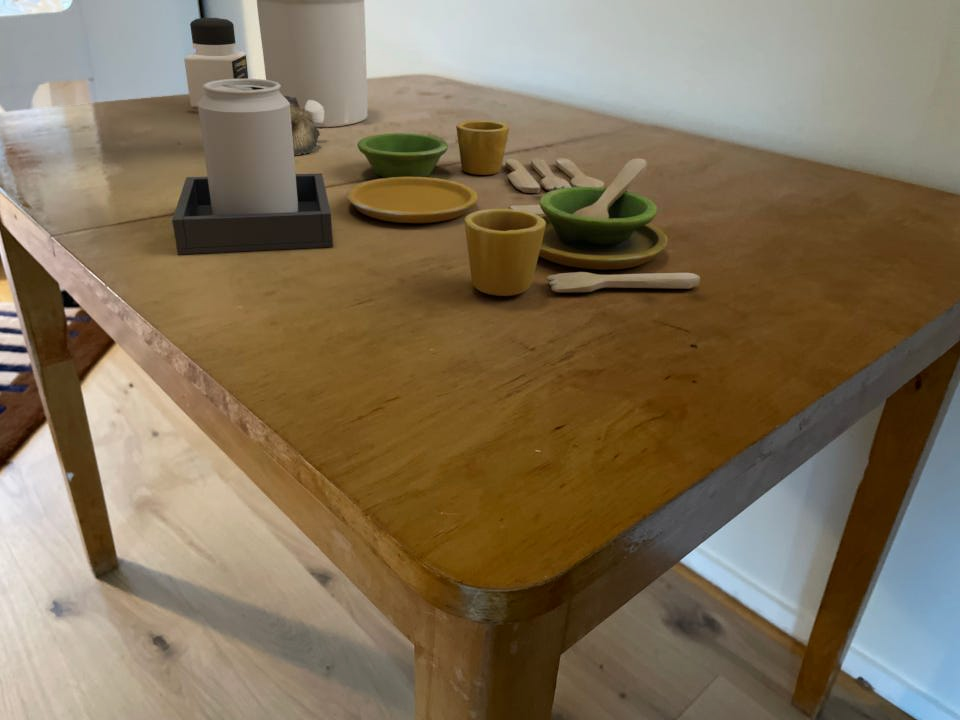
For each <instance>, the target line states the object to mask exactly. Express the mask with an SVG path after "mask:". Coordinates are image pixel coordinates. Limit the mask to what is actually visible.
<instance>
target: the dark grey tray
mask: <svg viewBox="0 0 960 720" xmlns="http://www.w3.org/2000/svg"><path fill="white" fill-rule="evenodd" d="M295 174H296V187H297V199H298V212H287V213H261V214H235V215H213V214H212V206H211V199H210V192H209V184H208V177H207V176H187V177H186V178H185V180H184V183H183V186H182V188H181V191H180V196H179V198H178V201H177V204H176V207H175V210H174V213H173V217H172V220H171V222H172V228H173V233H174V234H173V235H174V240H175V247H176V252H177V255H178V256H179V255H197V254H198V255H200V254H219V253H239V252H258V251H259V252H261V251H279V250H280V251H281V250H297V249H298V250H300V249H301V250H302V249H321V248H333V247H334V245H333V244H334V241H333V240H334V239H333V226H332V225H333V224H332V211H331V208H330V204H329V198H328V194H327V189H326V184H325V181H324V180H325V179H324V176H323V173H319V172H318V173H295Z"/></svg>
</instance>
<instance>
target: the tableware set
mask: <svg viewBox="0 0 960 720" xmlns="http://www.w3.org/2000/svg"><path fill="white" fill-rule="evenodd" d="M455 129H456V135H457V142H458V144H457V145H458V150H459V157H460V158H459V159H460V166H461V170H462V171H464V172H465V173H466V174H467V173H468V174H471V175H477V176H489V175H490V176H491V175H494V174H495V175H496V174H498V173H499V172H500V171H501V170H502V166H503V161H504V157H505V152H506V147H507V142H508V137H509V131H510V126H509V125H508V124H507V123H505V122H502V121H498V120H497V121H496V120H480V119H479V120H465V121H460V122H458V123H457V124H456V127H455ZM356 145H357V149H358V150H359V152H361V153H362V154H363V155H364V156H365V158H366V160H367V161H368V163H369V164H370V166H371V167H372V169H373V171H374V173H375V174H377V176H379V177H381V178H376V179H371V180H367V181H363V182H361V183H357V184H355V185H354V186H353V185H352V187H350V188H349V189H348V190H347V192H346V195H345V197H346V199H347V201H348V202H349V203H350V204H351V206H352V207H355V209H356V210H357V211H358V212H360V213H361V214H363V215H365V216H366V217H370V218H373V219H376V220H380V221H384V222H391V223H400V224H429V223H438V222H445V221H449V220H452V219H455V218H458V217H461V216H462V215H464V214H466V213H467V212H468V211H469V210H470V209H471V208H472V207H474V205H475V204H476V203H477V201H478V200H479V195H478V193H477V192H476V190H475V189H473V188H471V187H470V186H468V185H465V184H463V183H460V182H457V181H453V180H449V179H444V178H437V177H429V176H430V174H431V173H432V172H433V170H434V169H435V168H436V165H437V164H438V162H439V160H440V159H441V157H442V156H443V155H444V154H446V152H447V151H448V149H449V144H448V142H446V141H445V140H443V139H442V138H438V137H435V136H431V135H425V134H418V133H406V132H405V133H403V132H402V133H400V132H399V133H397V132H395V133H394V132H393V133H382V134H375V135H370V136H367V137H363V138H362V139H360V140H358V142H357V144H356ZM556 164H557V165H556ZM530 166H531V167H532V168H533V169H534V170H535V172H536V173H537V174H538V175H539V176H540V177H541V180H540V184H539V183H538V182H537V180H536V179H535V178H534V177H533V176H532V175H531V174H530V173H529V172H528V170H527V169H526V168H525V167H524V166H523V165H522V163H521V162H520V161H519V160H517V159H514V158H508V159H506V160H505V167H506V168H507V169H508V170H509V171H510V172H509V173H508V174H507V178H508V180H509V181H510V182H511V184H512V186H514V187H515V188H516V189H517V190H519V191H521V192H522V193H524V194H525V193H526V194H539V193H540V192H541V187H542V189H544V190H546V191H548V192H545V193H544V194H543V195H541V197H540V198H539V204H520V205H519V204H518V205H514V204H513V205H510V206H509V208H487V209H480V210H477V211H473V212H471V213H469V214H467V215H466V216H465V217H464V221H463V222H464V223H463V224H464V230H465V237H466V245H467V253H468V261H469V269H470V278H471V284H472V286H473V287H474V288H475V289H476V290H478V291H479V292H481V293H484V294H487V295H490V296H491V295H492V296H497V297H511V296H517V295H520V294H523V293H525V292H526V291H528V290H529V289H530V288H531V286H532V285H533V280H534V276H535V274H536V269H537V263H538V260H539V257H540V258H542V259H545V260H547V261H549V262H552V263H555V264H559V265H562V266H566V267H571V268H578V269H586V270H597V271H598V270H600V271H602V270H604V271H612V270H624V269H629V268H634V267H639V266H641V265H644V264H646V263H648V262H650V261H651V260H652V259H653V258H654V257H656V256H658V255H659V254H660V253H661V252H662V251H664V249H665V248H666V247H667V245H668V237H667V235H666V233H664V232H663V231H662V230H661V229H660V228H658V227H656V226H655V225H654V224H651V223H650V222H652V221H653V220H654V218H655V217H656V216H657V214H658V211H659V209H658V206H657V205H656V204H655V203H654V202H653V201H652V200H650V199H649V198H647V197H644V196H643V195H640V194H638V193H634V192H631V191H628V190H629V189H630V187H631V186H632V185H633V184H634V183H635V182H637V181H638V180H639V179H640V178H641V177H642V176H643V175H644V173H645V172H646V170H647V166H648V165H647V160H645V159H644V158H640V157H639V158H638V157H637V158H631V159H630V160H628V161H627V163H626V164H624V166H623V167H622V168H621V170H620V171H619V172H618V174H617V175H616V176H615V178H614V179H613V180H612V181H611V182H610V184H609V185H608V187H604V186H605V183H604V181H603V180H601V179H599V178H595V177H591V176H589V175H588V176H587V175H585V173H583V172H582V171H581V170H580V168H579V167H578V166H577V165H576V164H575V163H574V162H573V161H572V160H571V159H570V158H563V157H562V158H561V157H560V158H556V159H555V166H556V168H557V169H559V170H560V171H561V172H563V174H565V175H566V176H568V177H569V178H570V182H568V180H566V179H564V178H561V177H558V176H556V175H555V174H554V173H553V171H552V170H551V168H550V166H549V165H548V163H547V162H546V160H544V159H543V158H531V159H530ZM561 168H562V169H561ZM565 171H566V172H567V173H566V172H565ZM546 280H547V282H548V283H549V286H550V287H551V291H553V292H554V293H592V292H594V291H597V290H600V289H607V288H610V289H611V288H615V289H617V288H619V289H621V288H622V289H630V288H631V289H678V290H679V289H680V290H681V289H684V290H685V289H686V290H687V289H692V288H693V289H694V288H695V287H697V286H699V284H700V281H701V277H700V275H698V274H696V273H694V272H661V273H659V272H657V273H656V272H655V273H624V274H623V273H621V274H597V273H592V272H588V271H577V272H575V271H574V272H562V273H557V274H556V273H555V274H550V275H547V277H546Z"/></svg>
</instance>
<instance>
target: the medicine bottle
mask: <svg viewBox="0 0 960 720" xmlns="http://www.w3.org/2000/svg"><path fill="white" fill-rule="evenodd" d="M189 25H190V34H191V42H192V49H194V50H195V52H194V53H191V54H189V55H186V56H184V58H183V60H184V69H185V75H186V83H187V89H188V97H189V105H190V107H191V108H198V102H199V101H200V100H201V98H202V97H203V96H204V94H205V93H206V90H205V89H204V88H203V85H204V84H206V83H208V82H211V81H217V80H224V79H249V73H248V72H249V71H248V62H247V53H245V52H244V51H236V49H237V44H236V36H235V24H234V23H233V22H232V21H231V20H229V19H227V18H220V17H200V18H199V17H198V18H195V19H194V20H191V22H190V24H189Z"/></svg>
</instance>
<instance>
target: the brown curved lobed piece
mask: <svg viewBox="0 0 960 720" xmlns="http://www.w3.org/2000/svg"><path fill="white" fill-rule="evenodd" d="M283 96H284V95H283ZM284 97H285V98H286V99H287V100H288V102H289V103H290V112H291V124H292V137H293V149H294V156H300V155H302V154H303V155H306V154H307V153H311V152H313V150H314V149H315V148H316V147H317V143H318V139H319V137H320V136H321V135H320V131H319V130H318V127H315V126H314V125H313V123H318V124H320V123H323V121H324V114H325V112H324V109H323V106H322V105H321V104H320V103H318V102H316V101H314V100H308V101H307V102H306V104H305V107H304V109H303V110H302V111H301V109H300V106H299V104H298V101H297V100H296V98H295V97H289V96H284ZM311 122H312V123H311Z"/></svg>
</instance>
